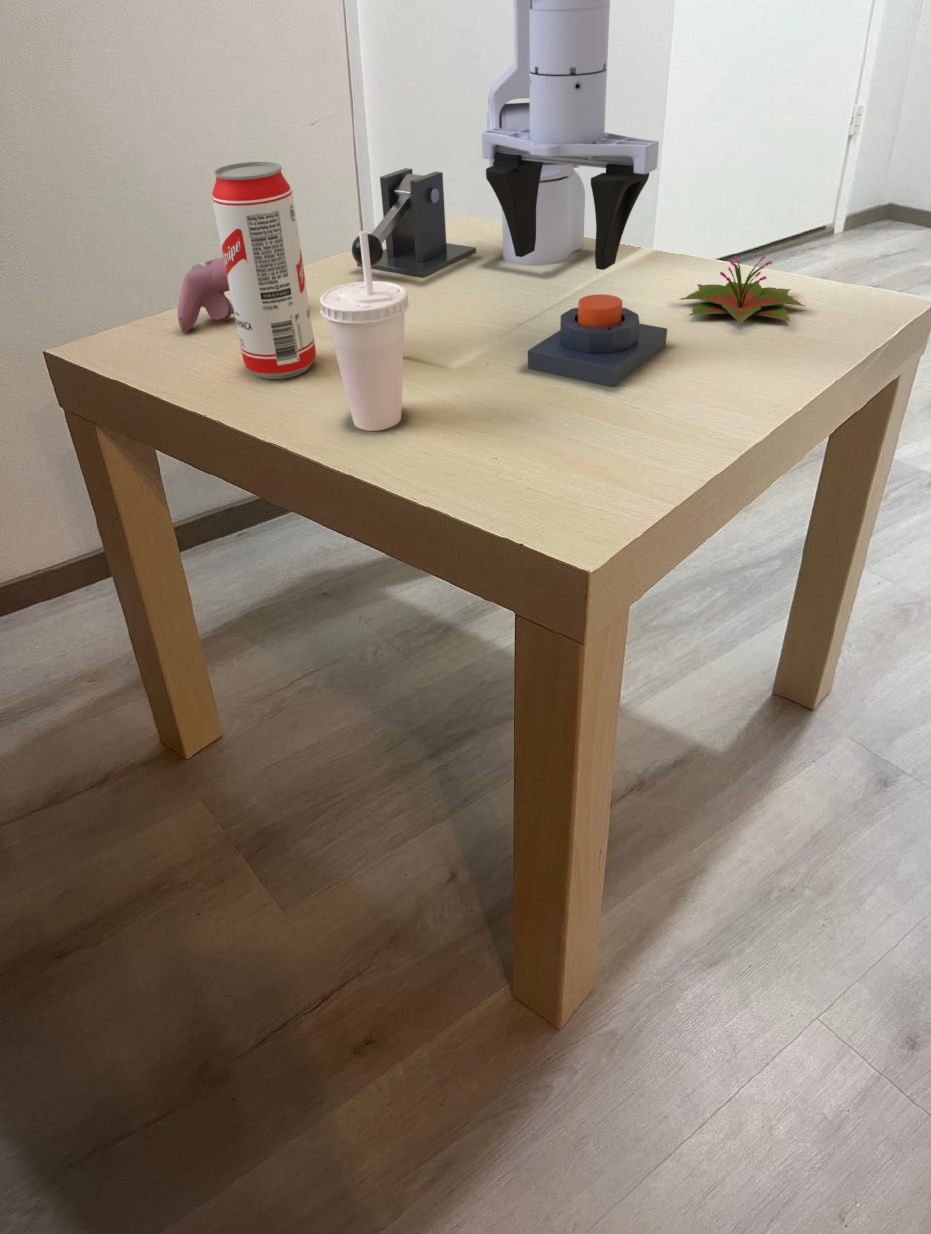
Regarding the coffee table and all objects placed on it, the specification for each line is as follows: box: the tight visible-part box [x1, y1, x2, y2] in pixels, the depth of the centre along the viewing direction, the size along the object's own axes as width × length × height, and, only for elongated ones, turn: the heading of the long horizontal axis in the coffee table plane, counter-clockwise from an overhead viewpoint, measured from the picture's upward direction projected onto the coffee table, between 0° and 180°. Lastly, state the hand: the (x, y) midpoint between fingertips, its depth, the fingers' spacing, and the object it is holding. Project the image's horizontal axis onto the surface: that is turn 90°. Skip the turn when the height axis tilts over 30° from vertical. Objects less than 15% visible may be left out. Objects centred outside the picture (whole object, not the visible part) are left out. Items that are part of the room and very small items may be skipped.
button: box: [577, 293, 623, 327], centre depth 78 cm, size 4×4×2 cm
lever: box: [351, 173, 424, 267], centre depth 97 cm, size 12×3×3 cm, turn 145°
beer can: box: [211, 161, 317, 380], centre depth 77 cm, size 6×6×16 cm
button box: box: [527, 306, 668, 388], centre depth 79 cm, size 10×8×4 cm
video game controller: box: [177, 257, 233, 333], centre depth 90 cm, size 10×5×7 cm, turn 84°
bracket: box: [356, 167, 477, 279], centre depth 100 cm, size 10×9×9 cm
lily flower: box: [677, 255, 806, 325], centre depth 87 cm, size 12×12×5 cm
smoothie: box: [319, 230, 410, 432], centre depth 68 cm, size 6×6×14 cm
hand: (564, 259), depth 77 cm, fingers open, 7 cm apart
